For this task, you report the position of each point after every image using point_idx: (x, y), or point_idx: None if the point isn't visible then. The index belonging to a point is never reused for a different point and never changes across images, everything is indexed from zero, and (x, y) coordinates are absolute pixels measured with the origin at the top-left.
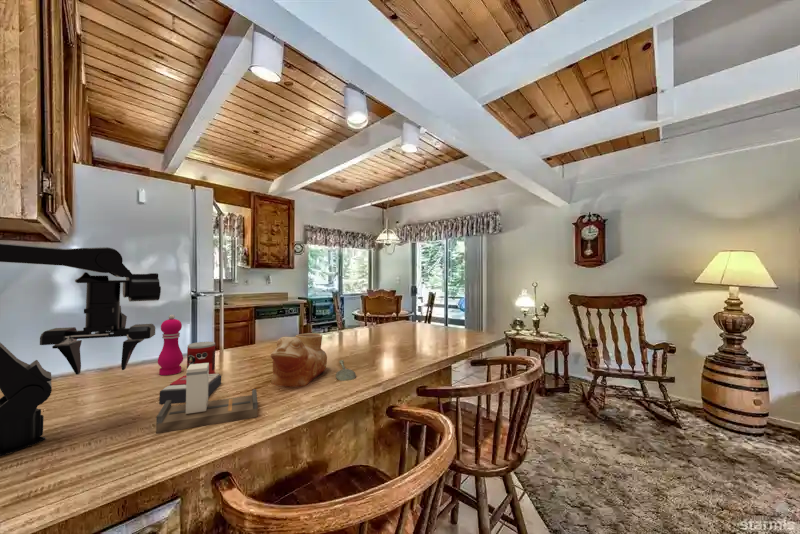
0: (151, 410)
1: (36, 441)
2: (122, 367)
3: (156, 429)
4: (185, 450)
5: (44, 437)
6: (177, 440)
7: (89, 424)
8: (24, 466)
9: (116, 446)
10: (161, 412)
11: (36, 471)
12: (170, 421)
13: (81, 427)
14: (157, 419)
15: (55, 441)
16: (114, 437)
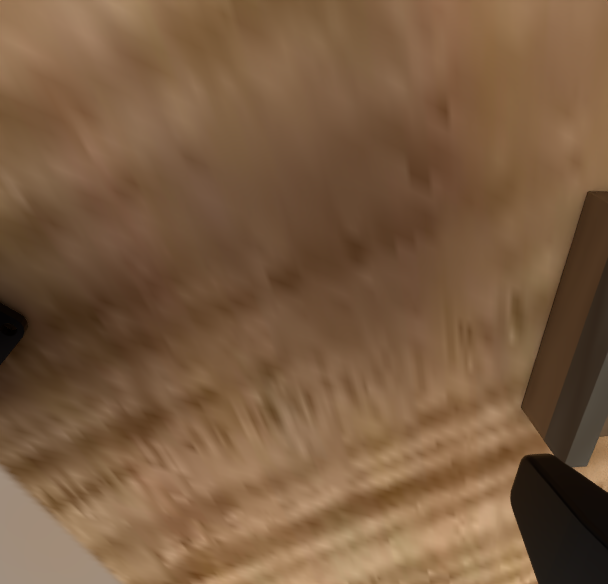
0: (516, 38)
1: (5, 357)
2: (537, 548)
3: (531, 419)
4: None
5: (13, 320)
6: None
7: (163, 152)
8: (109, 516)
9: (385, 467)
10: (591, 424)
11: (177, 552)
12: (601, 433)
13: (134, 188)
14: (559, 455)
15: (92, 341)
16: (360, 388)
